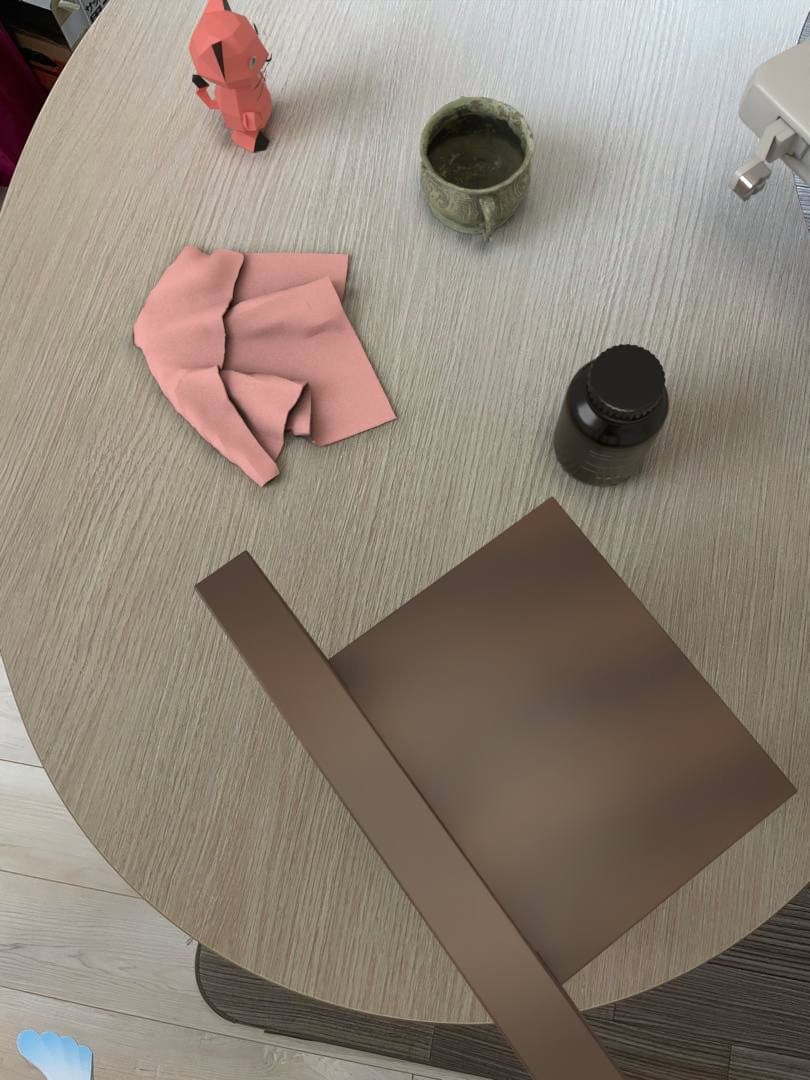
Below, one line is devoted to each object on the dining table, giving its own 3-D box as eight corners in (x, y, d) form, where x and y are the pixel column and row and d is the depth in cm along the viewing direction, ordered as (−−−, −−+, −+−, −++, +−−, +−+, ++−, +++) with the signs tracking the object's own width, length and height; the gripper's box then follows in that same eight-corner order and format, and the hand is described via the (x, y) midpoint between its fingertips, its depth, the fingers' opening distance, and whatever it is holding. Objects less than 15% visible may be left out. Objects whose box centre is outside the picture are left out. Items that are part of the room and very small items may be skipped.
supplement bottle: (547, 407, 72) (567, 330, 60) (637, 400, 72) (675, 322, 60) (557, 493, 70) (580, 430, 58) (650, 486, 70) (691, 422, 58)
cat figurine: (285, 162, 79) (258, 51, 67) (203, 162, 79) (163, 51, 67) (290, 91, 80) (265, -29, 69) (210, 92, 81) (172, -28, 69)
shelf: (657, 798, 64) (1091, 775, 21) (493, 930, 62) (611, 1192, 19) (510, 611, 67) (630, 279, 25) (351, 730, 66) (192, 586, 23)
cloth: (162, 230, 77) (153, 212, 75) (426, 266, 75) (425, 249, 73) (96, 461, 72) (85, 449, 69) (379, 506, 70) (377, 496, 68)
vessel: (407, 143, 79) (404, 88, 73) (511, 125, 79) (517, 68, 73) (434, 268, 75) (434, 220, 69) (543, 248, 75) (552, 199, 69)
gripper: (859, -24, 59) (690, 90, 57) (1111, 201, 54) (936, 334, 52) (819, 53, 65) (665, 159, 63) (1042, 262, 60) (883, 383, 58)
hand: (790, 240), depth 58 cm, fingers open, 8 cm apart
